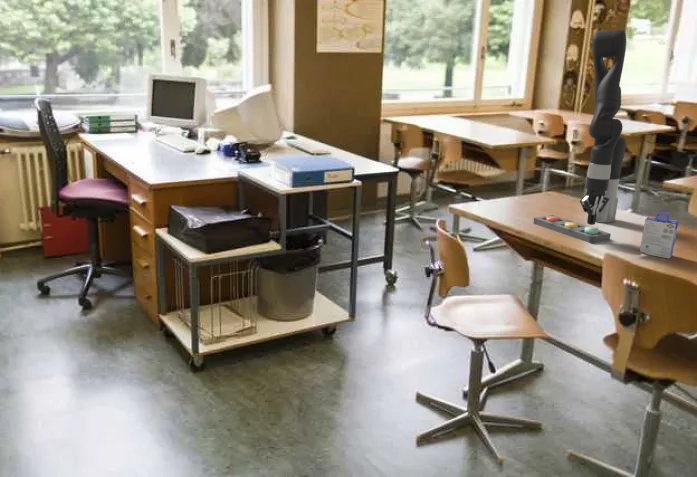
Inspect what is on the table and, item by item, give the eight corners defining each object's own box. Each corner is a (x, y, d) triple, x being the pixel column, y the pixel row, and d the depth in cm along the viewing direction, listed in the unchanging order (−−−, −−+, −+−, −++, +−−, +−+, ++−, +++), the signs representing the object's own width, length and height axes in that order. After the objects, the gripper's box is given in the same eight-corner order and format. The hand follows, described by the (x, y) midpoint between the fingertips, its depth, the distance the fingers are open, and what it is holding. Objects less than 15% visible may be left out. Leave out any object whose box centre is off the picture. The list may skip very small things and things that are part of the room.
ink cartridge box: (672, 255, 232) (680, 213, 228) (670, 259, 228) (678, 217, 223) (641, 249, 237) (648, 208, 233) (638, 253, 233) (646, 212, 228)
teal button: (581, 233, 245) (582, 227, 245) (589, 232, 248) (590, 225, 247) (591, 237, 242) (592, 230, 241) (600, 235, 244) (601, 229, 243)
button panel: (533, 225, 261) (534, 217, 260) (551, 222, 266) (552, 214, 265) (590, 245, 239) (591, 237, 238) (609, 241, 244) (610, 233, 243)
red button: (542, 222, 260) (543, 216, 259) (551, 221, 263) (552, 215, 262) (552, 226, 256) (553, 219, 256) (560, 224, 259) (561, 218, 258)
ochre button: (561, 229, 253) (562, 222, 252) (569, 227, 255) (570, 221, 255) (571, 232, 249) (572, 226, 249) (579, 230, 252) (580, 224, 251)
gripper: (602, 172, 245) (594, 219, 250) (576, 175, 238) (569, 223, 243) (619, 177, 239) (612, 224, 244) (594, 179, 232) (586, 228, 237)
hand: (590, 224), depth 244 cm, fingers closed
